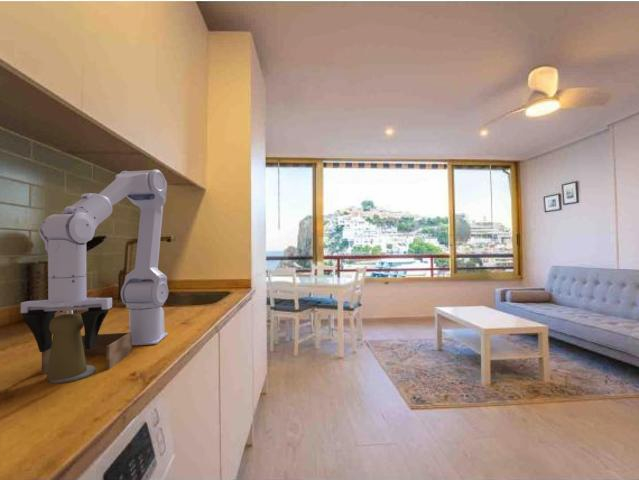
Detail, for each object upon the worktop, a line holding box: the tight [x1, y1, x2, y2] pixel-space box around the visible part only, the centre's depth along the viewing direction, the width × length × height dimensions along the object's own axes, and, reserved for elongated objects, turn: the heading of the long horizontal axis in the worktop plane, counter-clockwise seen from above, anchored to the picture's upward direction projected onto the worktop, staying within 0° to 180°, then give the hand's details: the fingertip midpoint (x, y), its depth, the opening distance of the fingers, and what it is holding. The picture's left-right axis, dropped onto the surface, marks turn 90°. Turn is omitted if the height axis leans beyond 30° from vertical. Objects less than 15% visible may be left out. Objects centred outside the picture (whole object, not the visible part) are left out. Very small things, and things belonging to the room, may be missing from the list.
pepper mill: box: [46, 313, 87, 381], centre depth 60 cm, size 6×6×11 cm
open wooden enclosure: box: [41, 332, 133, 375], centre depth 68 cm, size 10×12×4 cm
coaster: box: [48, 364, 96, 384], centre depth 61 cm, size 7×7×1 cm
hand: (68, 348), depth 60 cm, fingers open, 7 cm apart
